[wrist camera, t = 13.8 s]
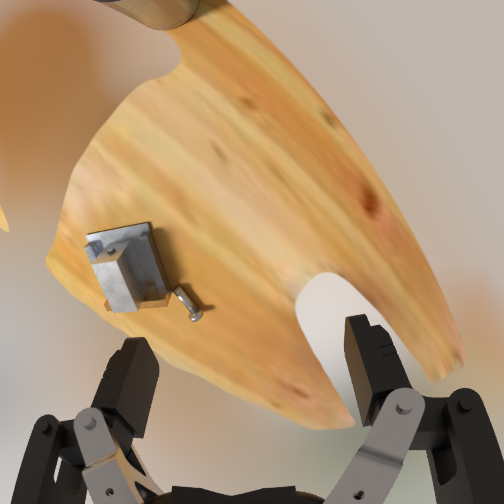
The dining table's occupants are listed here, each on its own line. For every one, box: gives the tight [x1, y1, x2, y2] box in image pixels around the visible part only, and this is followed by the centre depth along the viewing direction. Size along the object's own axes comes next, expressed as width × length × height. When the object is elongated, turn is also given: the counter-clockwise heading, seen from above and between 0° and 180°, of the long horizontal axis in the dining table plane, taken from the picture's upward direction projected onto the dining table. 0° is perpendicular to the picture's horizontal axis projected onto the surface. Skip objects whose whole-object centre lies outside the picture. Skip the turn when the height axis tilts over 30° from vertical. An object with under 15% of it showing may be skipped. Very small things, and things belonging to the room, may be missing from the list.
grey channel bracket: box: [85, 223, 172, 311], centre depth 51 cm, size 14×13×4 cm
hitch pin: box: [173, 286, 203, 322], centre depth 55 cm, size 7×3×3 cm, turn 29°
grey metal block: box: [91, 240, 149, 313], centre depth 49 cm, size 10×5×7 cm, turn 9°
